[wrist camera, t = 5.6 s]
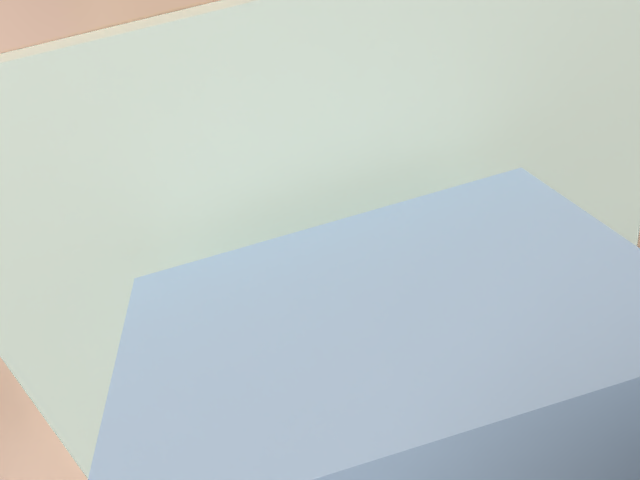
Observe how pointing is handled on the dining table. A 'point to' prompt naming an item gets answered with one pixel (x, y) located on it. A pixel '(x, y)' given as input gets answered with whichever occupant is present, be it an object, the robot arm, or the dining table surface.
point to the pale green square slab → (279, 147)
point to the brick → (389, 350)
